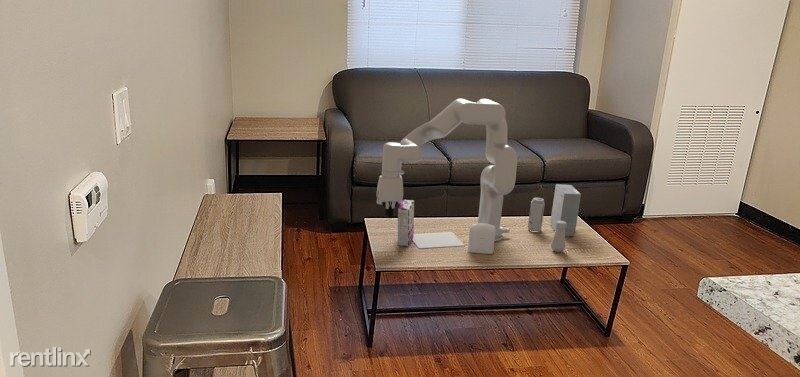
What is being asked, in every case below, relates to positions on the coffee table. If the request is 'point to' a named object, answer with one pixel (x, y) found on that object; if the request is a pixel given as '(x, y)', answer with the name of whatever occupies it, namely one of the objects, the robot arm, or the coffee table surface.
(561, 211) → the hard drive box
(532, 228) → the energy drink can
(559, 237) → the salt shaker
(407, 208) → the candy bar box
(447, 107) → the robot arm
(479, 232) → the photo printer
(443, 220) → the coffee table surface
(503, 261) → the coffee table surface
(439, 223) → the coffee table surface
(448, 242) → the mat
